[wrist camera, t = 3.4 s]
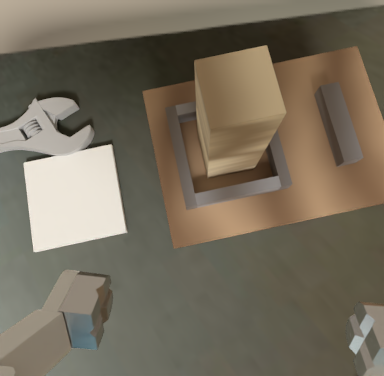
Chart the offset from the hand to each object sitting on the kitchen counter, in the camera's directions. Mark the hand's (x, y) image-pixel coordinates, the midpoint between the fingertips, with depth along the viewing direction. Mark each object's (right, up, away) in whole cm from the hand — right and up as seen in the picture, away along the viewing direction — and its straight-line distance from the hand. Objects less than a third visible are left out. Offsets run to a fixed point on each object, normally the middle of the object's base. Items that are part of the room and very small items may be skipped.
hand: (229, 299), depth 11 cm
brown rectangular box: (+5, +6, +23) cm, 24 cm away
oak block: (+1, +7, +14) cm, 16 cm away
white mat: (-13, +3, +23) cm, 26 cm away
